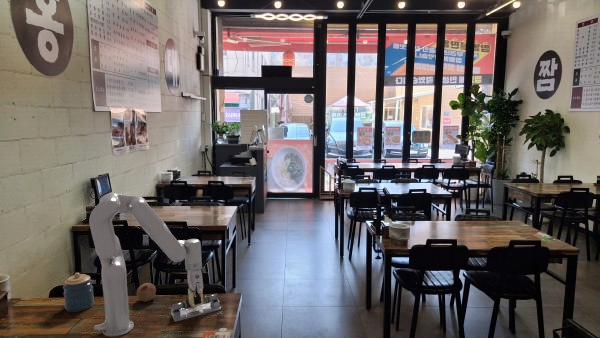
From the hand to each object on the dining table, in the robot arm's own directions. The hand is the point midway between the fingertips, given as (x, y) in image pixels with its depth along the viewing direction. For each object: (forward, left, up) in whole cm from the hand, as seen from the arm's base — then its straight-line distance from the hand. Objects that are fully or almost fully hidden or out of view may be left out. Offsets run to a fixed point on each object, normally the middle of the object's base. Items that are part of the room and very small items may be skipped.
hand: (195, 301), depth 188 cm
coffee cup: (+5, +18, -6) cm, 19 cm away
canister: (-48, +38, -6) cm, 62 cm away
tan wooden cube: (0, 0, -1) cm, 1 cm away
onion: (-18, +27, -6) cm, 33 cm away
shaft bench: (0, 0, -5) cm, 5 cm away
